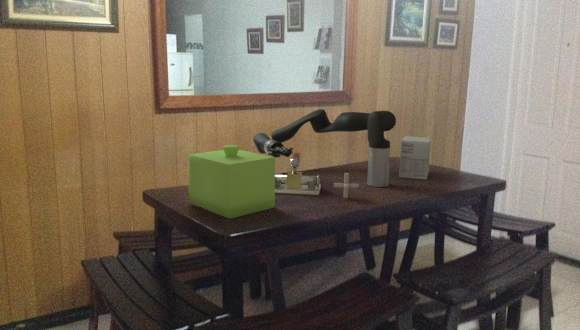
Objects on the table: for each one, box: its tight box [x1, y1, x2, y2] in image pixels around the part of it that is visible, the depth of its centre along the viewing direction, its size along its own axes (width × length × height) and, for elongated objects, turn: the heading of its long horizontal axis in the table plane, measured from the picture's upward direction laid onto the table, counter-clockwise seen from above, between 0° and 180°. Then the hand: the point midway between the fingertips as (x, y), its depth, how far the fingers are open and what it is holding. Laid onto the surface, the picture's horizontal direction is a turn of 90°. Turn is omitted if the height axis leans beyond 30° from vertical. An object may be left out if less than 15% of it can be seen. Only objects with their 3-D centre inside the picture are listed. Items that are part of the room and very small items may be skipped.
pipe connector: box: [333, 172, 360, 199], centre depth 205 cm, size 10×10×10 cm
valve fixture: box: [275, 167, 322, 196], centre depth 215 cm, size 22×12×10 cm, turn 83°
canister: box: [187, 144, 276, 220], centre depth 189 cm, size 25×21×23 cm
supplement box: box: [398, 135, 432, 181], centre depth 247 cm, size 17×13×18 cm
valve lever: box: [289, 152, 302, 168], centre depth 219 cm, size 15×4×4 cm, turn 173°
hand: (287, 154), depth 229 cm, fingers closed
